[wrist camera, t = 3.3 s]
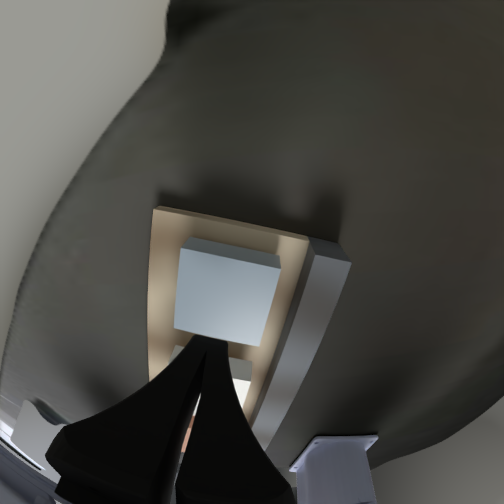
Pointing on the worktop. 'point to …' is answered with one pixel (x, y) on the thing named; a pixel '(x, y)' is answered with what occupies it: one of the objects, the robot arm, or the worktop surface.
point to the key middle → (239, 372)
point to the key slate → (225, 290)
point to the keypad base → (280, 315)
